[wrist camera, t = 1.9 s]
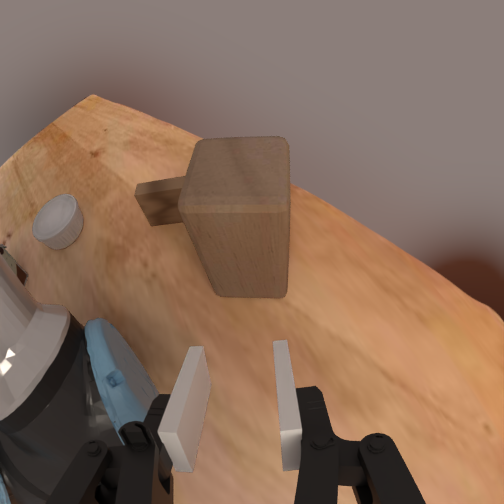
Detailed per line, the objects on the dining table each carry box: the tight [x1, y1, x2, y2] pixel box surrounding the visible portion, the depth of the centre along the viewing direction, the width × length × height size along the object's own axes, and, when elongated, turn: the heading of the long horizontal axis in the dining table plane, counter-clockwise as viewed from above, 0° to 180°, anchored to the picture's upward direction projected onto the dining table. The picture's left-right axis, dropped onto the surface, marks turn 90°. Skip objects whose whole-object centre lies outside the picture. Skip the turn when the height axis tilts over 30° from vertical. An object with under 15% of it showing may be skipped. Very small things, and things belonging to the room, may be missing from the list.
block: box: [178, 136, 290, 298], centre depth 36 cm, size 10×10×20 cm
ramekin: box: [32, 194, 83, 250], centre depth 50 cm, size 11×11×5 cm
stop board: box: [134, 176, 185, 226], centre depth 47 cm, size 22×2×8 cm, turn 93°
